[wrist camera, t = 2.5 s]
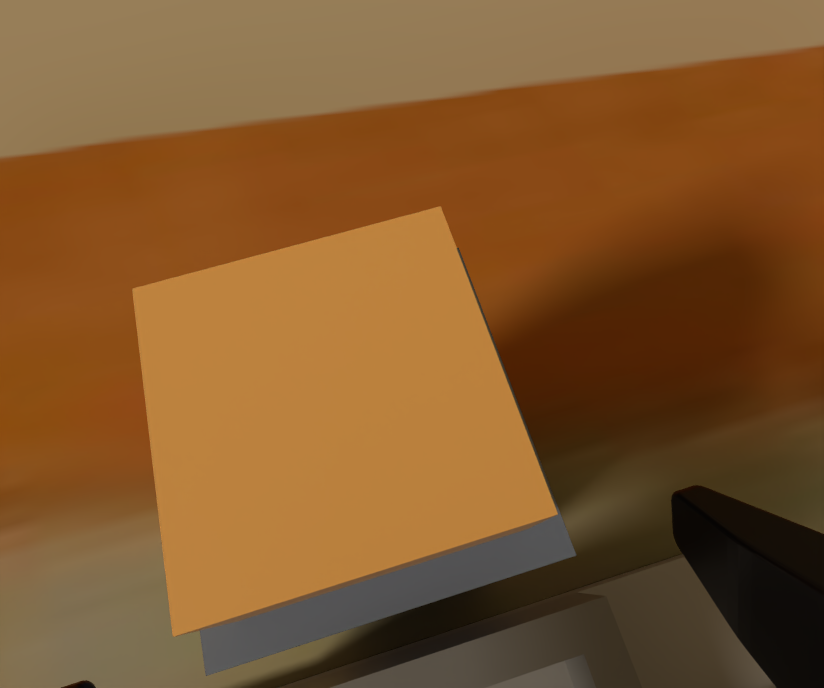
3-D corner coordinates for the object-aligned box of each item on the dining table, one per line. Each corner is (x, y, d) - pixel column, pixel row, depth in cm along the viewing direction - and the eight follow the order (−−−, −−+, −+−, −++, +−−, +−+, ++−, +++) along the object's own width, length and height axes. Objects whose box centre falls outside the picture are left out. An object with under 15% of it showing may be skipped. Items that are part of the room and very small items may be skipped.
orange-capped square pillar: (493, 566, 18) (624, 549, 6) (338, 616, 17) (125, 711, 5) (444, 418, 20) (465, 167, 8) (304, 459, 19) (89, 266, 7)
